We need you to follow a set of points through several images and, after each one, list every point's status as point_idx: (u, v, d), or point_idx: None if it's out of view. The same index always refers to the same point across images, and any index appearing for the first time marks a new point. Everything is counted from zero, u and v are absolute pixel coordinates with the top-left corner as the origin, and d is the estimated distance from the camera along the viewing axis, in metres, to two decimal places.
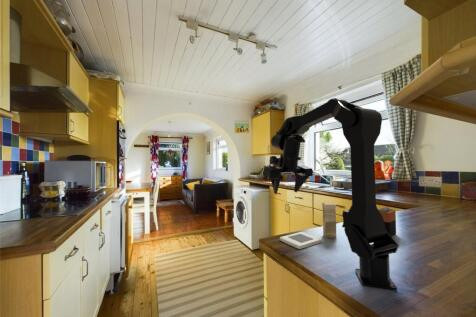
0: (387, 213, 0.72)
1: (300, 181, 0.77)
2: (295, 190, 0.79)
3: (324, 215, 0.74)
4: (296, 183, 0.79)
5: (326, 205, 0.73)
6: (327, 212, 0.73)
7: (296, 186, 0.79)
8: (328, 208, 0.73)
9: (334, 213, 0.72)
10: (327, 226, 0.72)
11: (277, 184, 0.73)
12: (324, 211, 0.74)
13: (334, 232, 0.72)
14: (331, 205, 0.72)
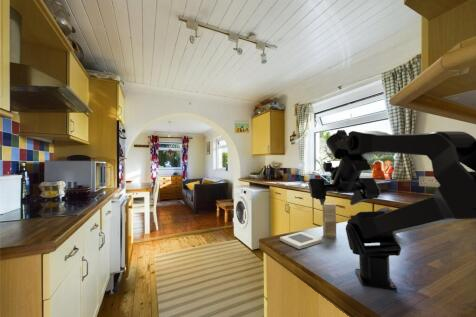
0: None
1: (358, 199, 0.61)
2: (351, 203, 0.65)
3: (324, 215, 0.74)
4: (354, 197, 0.64)
5: (326, 205, 0.73)
6: (327, 212, 0.73)
7: (353, 200, 0.64)
8: (328, 208, 0.73)
9: (334, 213, 0.72)
10: (327, 226, 0.72)
11: (322, 201, 0.62)
12: (324, 211, 0.74)
13: (334, 232, 0.72)
14: (331, 205, 0.72)
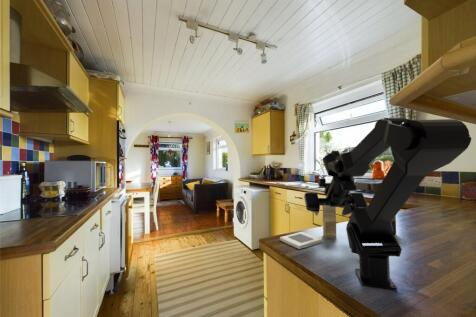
0: None
1: (348, 211, 0.69)
2: (342, 214, 0.73)
3: (324, 215, 0.74)
4: (345, 209, 0.71)
5: None
6: (327, 212, 0.73)
7: (344, 211, 0.72)
8: (328, 208, 0.73)
9: (334, 213, 0.72)
10: (327, 226, 0.72)
11: (316, 213, 0.70)
12: (324, 211, 0.74)
13: (334, 232, 0.72)
14: None
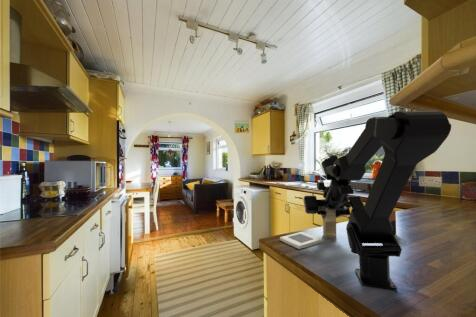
0: None
1: (338, 214, 0.71)
2: None
3: None
4: None
5: None
6: (327, 212, 0.73)
7: None
8: None
9: (334, 213, 0.72)
10: (327, 226, 0.72)
11: (323, 216, 0.71)
12: None
13: (334, 232, 0.72)
14: None
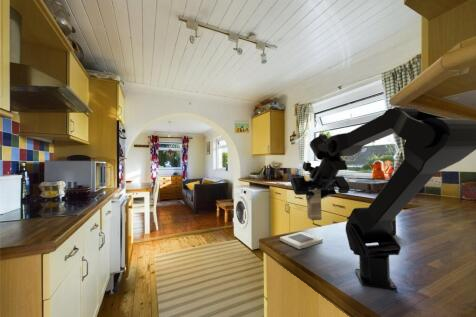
0: None
1: (324, 194, 0.70)
2: None
3: None
4: None
5: None
6: None
7: None
8: None
9: (319, 194, 0.72)
10: (313, 208, 0.71)
11: (310, 197, 0.69)
12: None
13: (319, 213, 0.71)
14: None
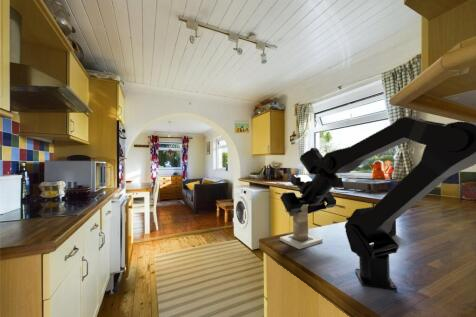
0: None
1: (314, 209, 0.69)
2: None
3: (296, 216, 0.69)
4: (309, 207, 0.71)
5: None
6: (300, 212, 0.68)
7: (308, 210, 0.71)
8: (301, 208, 0.69)
9: (306, 212, 0.69)
10: (300, 227, 0.68)
11: (296, 213, 0.66)
12: None
13: (306, 232, 0.69)
14: None
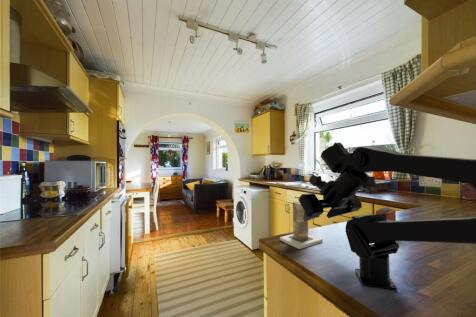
0: (387, 213, 0.72)
1: (340, 212, 0.61)
2: (328, 216, 0.64)
3: (296, 216, 0.69)
4: (333, 210, 0.63)
5: (300, 205, 0.68)
6: (300, 212, 0.68)
7: (331, 213, 0.63)
8: (301, 208, 0.69)
9: None
10: (300, 227, 0.68)
11: (312, 218, 0.57)
12: (297, 211, 0.69)
13: (306, 232, 0.69)
14: None
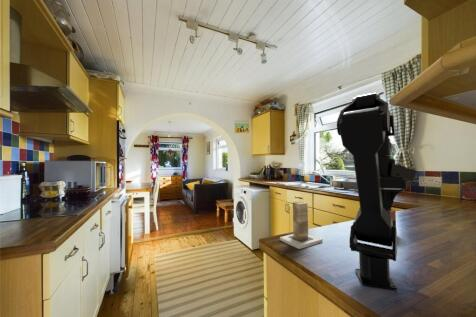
0: None
1: None
2: None
3: (296, 216, 0.69)
4: None
5: (300, 205, 0.68)
6: (300, 212, 0.68)
7: None
8: (301, 208, 0.69)
9: (306, 212, 0.69)
10: (300, 227, 0.68)
11: None
12: (297, 211, 0.69)
13: (306, 232, 0.69)
14: (304, 204, 0.69)
